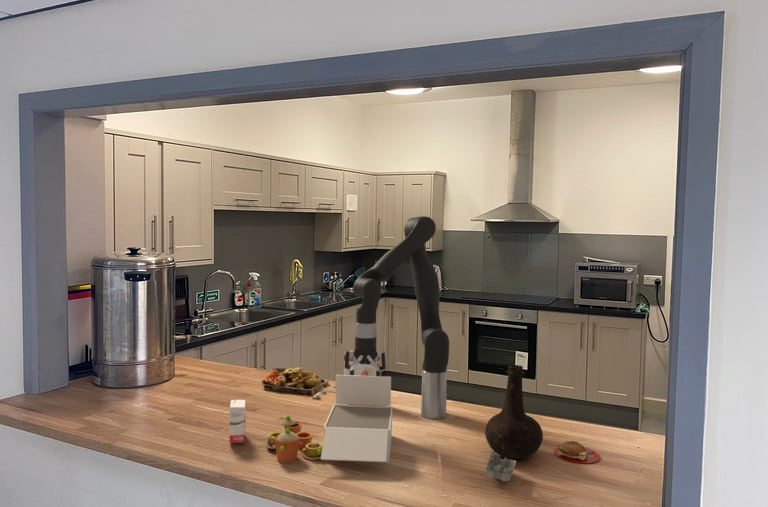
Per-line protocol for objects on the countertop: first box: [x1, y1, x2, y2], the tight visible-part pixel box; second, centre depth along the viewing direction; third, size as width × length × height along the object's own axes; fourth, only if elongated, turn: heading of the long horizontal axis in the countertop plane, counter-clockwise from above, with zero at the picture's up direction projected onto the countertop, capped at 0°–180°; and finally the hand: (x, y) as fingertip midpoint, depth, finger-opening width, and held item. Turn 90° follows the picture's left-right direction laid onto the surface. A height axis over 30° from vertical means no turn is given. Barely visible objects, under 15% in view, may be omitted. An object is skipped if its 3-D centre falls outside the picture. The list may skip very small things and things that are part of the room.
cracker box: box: [343, 350, 382, 406], centre depth 222 cm, size 14×6×21 cm, turn 68°
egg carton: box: [485, 450, 517, 482], centre depth 160 cm, size 11×8×4 cm
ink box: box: [229, 399, 247, 444], centre depth 184 cm, size 8×5×12 cm, turn 13°
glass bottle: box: [484, 364, 544, 460], centre depth 176 cm, size 18×18×28 cm
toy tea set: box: [265, 415, 323, 464], centre depth 177 cm, size 26×16×10 cm, turn 29°
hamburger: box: [553, 440, 602, 464], centre depth 178 cm, size 14×14×6 cm
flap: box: [334, 371, 392, 407], centre depth 193 cm, size 19×10×8 cm
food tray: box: [260, 366, 335, 400], centre depth 243 cm, size 35×26×11 cm
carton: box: [320, 403, 393, 464], centre depth 175 cm, size 20×31×10 cm, turn 177°
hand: (364, 380), depth 196 cm, fingers open, 8 cm apart
